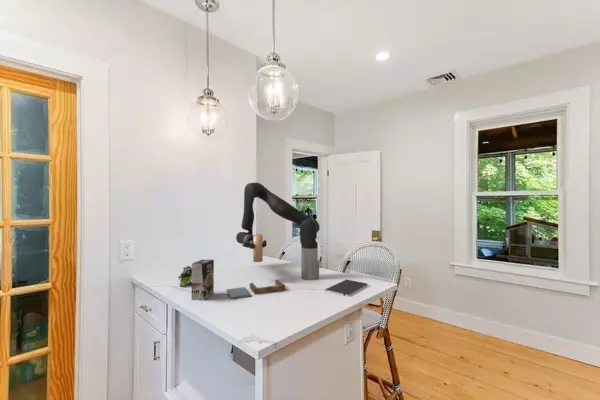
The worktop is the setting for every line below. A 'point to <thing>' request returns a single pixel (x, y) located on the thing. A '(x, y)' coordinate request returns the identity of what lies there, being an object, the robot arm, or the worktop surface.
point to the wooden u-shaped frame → (268, 288)
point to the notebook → (346, 287)
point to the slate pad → (238, 293)
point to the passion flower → (186, 275)
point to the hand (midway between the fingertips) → (258, 245)
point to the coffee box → (202, 279)
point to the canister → (258, 248)
